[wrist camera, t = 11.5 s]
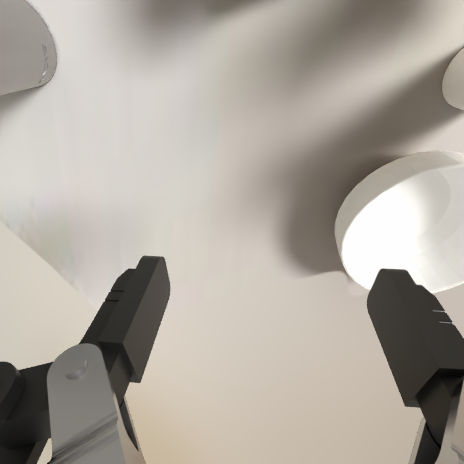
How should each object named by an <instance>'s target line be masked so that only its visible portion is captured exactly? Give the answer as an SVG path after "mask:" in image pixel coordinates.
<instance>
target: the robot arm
mask: <svg viewBox="0 0 464 464" xmlns="http://www.w3.org/2000/svg"><path fill="white" fill-rule="evenodd" d="M56 64H57V55H56V49H55V44H54V41H53V38H52V35H51V33H50V31H49V29H48V27H47V25H46V24H45V22H44V21H43V19H42V18H41V16H40V15H39V14H38V13H37V11H36V10H35V9H34V8H33V7H32V6H31V5H30V4H29V3H28V2H27V1H25V0H0V96H1V95H5V94H9V93H13V92H18V91H22V90H26V89H30V88H35V87H39V86H42V85H44V84H46V83H47V82H48V81H49V80H50V79H51V78H52V76H53V75H54V73H55V69H56ZM169 296H170V281H169V277H168V272H167V267H166V262H165V259H164V257H159V256H143V257H142V258H141V259H140V261H139V263H138V265H137V267H136V269H128V270H126V271H125V272H124V273H123V274H122V275H121V276H120V277H118V278H117V280H116V282H115V283H114V285H113V287H112V289H111V292H109V294H108V296H107V297H106V299H105V302H103V304H102V306H101V308H100V309H99V311H98V313H97V315H96V316H95V318H94V320H93V321H92V323H91V325H90V327H89V328H88V330H87V332H86V334H85V335H84V337H83V339H82V340H81V342H80V343H79V344H78V345H76V346H73V347H71V348H69V349H67V350H66V351H64V352H63V353H62V354H60V355H59V356H58V357H57V358H56V359H55V361H54V362H51V363H47V364H42V365H38V366H35V367H30V368H26V369H22V370H17V369H16V368H15V367H14V366H13V365H12V364H11V363H8V362H0V464H37V461H38V460H39V457H40V455H41V453H42V451H43V449H44V447H45V445H46V443H47V440H48V439H49V438H51V439H52V459H51V460H50V461H49V462H48V463H47V464H146V462H145V460H144V457H143V454H142V452H141V448H140V445H139V442H138V438H137V435H136V431H135V428H134V425H133V421H132V418H131V414H130V411H129V408H128V404H127V401H126V397H125V393H126V390H127V387H128V385H129V382H135V383H140V382H141V379H142V376H143V373H144V370H145V367H146V364H147V361H148V359H149V356H150V353H151V350H152V347H153V344H154V341H155V338H156V335H157V332H158V329H159V326H160V324H161V321H162V318H163V315H164V312H165V309H166V306H167V303H168V300H169ZM367 309H368V313H369V315H370V318H371V320H372V323H373V325H374V328H375V331H376V333H377V336H378V338H379V341H380V343H381V346H382V348H383V351H384V354H385V356H386V358H387V361H388V363H389V366H390V369H391V371H392V374H393V376H394V379H395V381H396V384H397V387H398V389H399V392H400V394H401V397H402V399H403V402H404V404H405V406H407V407H420V408H421V410H422V413H423V415H424V417H423V418H422V420H421V422H420V426H419V429H418V432H417V436H416V439H415V443H414V446H413V450H412V454H411V457H410V460H409V464H464V339H463V337H462V336H461V334H460V333H459V331H458V330H457V328H456V327H455V326H454V325H453V324H452V321H451V319H450V318H449V316H448V315H447V313H445V312H444V311H445V310H444V309H443V307H442V306H441V304H440V303H439V301H438V300H437V298H436V297H435V296H434V295H433V294H432V293H430V292H429V291H428V290H427V289H426V288H425V287H423V286H422V285H416V283H415V282H414V280H413V279H412V277H411V275H410V274H409V272H408V271H407V270H405V269H388V268H382V269H380V270H379V272H378V274H377V276H376V279H375V281H374V283H373V285H372V288H371V290H370V292H369V295H368V298H367Z"/></svg>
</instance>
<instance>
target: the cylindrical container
mask: <svg viewBox="0 0 464 464" xmlns="http://www.w3.org/2000/svg"><path fill="white" fill-rule="evenodd" d="M442 93H443V96H444V98H445V100H446V101H447V102H448V103H449V104H450V105H451V106H453V107H456V108H458V109H461V110H464V47H463V48H462V49H461V50H460V51H459V52H458V53H457V55H456V56H455V57H454V58H453V59H452V61H451V63H450V64H449V66H448V67H447V70H446V72H445V74H444V78H443V81H442Z"/></svg>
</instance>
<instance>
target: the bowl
mask: <svg viewBox="0 0 464 464" xmlns="http://www.w3.org/2000/svg"><path fill="white" fill-rule="evenodd" d="M334 233H335V238H336V243H337V248H338V252H339V255H340V258H341V261H342V264H343V266H344V268H345V270H346V272H347V274H348V275H349V276H350V277H351V278H352V279H353V280H354V281H355V282H356V283H358V284H359V285H361V286H362V287H364V288H366V289H368V290H371V288H372V285H373V283H374V281H375V279H376V276H377V274H378V272H379V270H380V269H382V268H388V269H405V270H407V271H408V272H409V274H410V275H411V277H412V279H413V280H414V282H415V283H416V285H422V286H423V287H425V288H426V289H427V290H428V291H429V292H430V293H436V292H439V291H442V290H447V289H450V288H452V287H455V286H457V285H460V284H462V283H464V154H462V153H459V152H455V151H440V150H435V151H427V152H419V153H415V154H412V155H408V156H405V157H401V158H399V159H397V160H394V161H392V162H390V163H388V164H386V165H383V166H382V167H380V168H379V169H377V170H376V171H374V172H372V173H371V174H369V175H368V176H367V177H366V178H364V179H363V180H362V181H361V182H360V183H359V184H358V185H356V186H355V187H354V189H353V190H352V191H351V192H350V193H349V195H348V196H347V197H346V198H345V200H344V202H343V204H342V206H341V207H340V209H339V211H338V215H337V218H336V221H335V232H334Z"/></svg>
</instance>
